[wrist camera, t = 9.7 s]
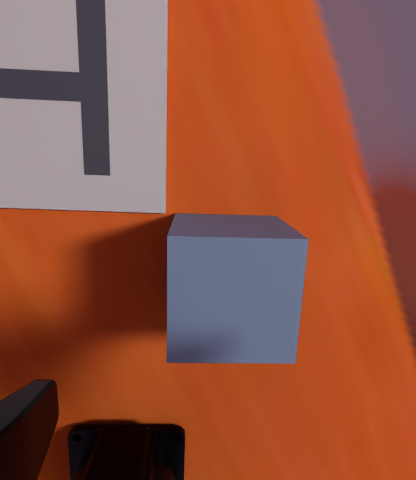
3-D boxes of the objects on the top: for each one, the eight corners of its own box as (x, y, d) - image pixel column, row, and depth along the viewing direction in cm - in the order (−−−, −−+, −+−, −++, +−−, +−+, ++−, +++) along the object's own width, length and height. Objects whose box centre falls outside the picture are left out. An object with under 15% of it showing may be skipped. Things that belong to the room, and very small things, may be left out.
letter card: (165, 212, 16) (165, 213, 16) (-88, 204, 16) (-91, 204, 16) (168, -52, 14) (167, -55, 14) (-136, -72, 13) (-140, -75, 13)
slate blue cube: (268, 307, 18) (295, 363, 13) (174, 306, 18) (166, 362, 13) (275, 215, 17) (308, 239, 12) (175, 213, 16) (167, 235, 12)
